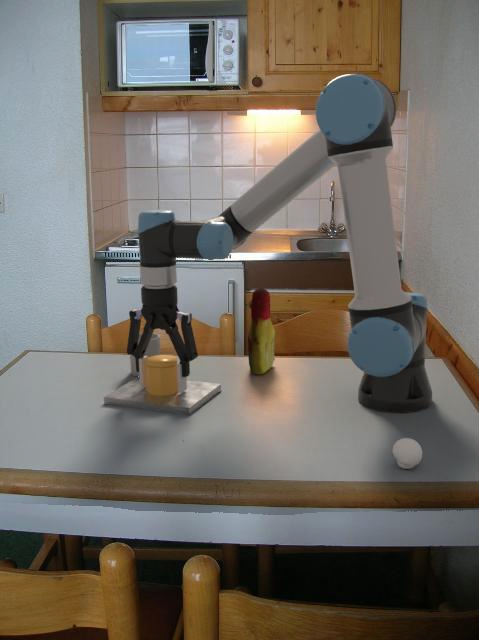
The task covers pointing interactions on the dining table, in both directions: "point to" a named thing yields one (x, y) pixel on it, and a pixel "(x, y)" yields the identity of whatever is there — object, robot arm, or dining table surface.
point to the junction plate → (163, 397)
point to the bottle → (261, 333)
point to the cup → (147, 351)
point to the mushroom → (407, 453)
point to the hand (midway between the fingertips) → (163, 388)
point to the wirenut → (161, 375)
